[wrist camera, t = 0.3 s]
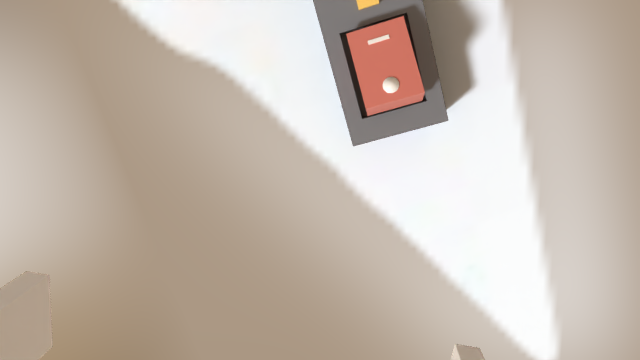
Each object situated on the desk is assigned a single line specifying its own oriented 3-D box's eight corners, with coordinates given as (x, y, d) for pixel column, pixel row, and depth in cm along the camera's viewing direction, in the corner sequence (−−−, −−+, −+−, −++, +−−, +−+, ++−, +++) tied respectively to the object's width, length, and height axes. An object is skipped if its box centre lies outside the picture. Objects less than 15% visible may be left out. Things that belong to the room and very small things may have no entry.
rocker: (349, 45, 34) (346, 33, 32) (402, 29, 34) (403, 15, 31) (367, 116, 34) (365, 108, 31) (422, 100, 33) (424, 91, 31)
